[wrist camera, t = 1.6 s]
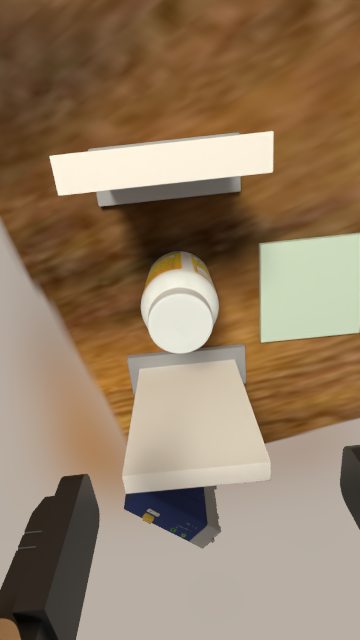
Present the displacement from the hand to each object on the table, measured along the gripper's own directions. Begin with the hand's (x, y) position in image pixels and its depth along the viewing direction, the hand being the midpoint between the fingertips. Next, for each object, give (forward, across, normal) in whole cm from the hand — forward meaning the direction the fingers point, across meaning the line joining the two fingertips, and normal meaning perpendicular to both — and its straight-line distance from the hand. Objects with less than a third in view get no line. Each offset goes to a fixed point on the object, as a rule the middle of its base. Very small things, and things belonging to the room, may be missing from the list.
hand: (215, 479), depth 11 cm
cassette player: (+21, +3, +14) cm, 25 cm away
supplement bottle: (+21, +1, -1) cm, 21 cm away
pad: (+20, -11, +2) cm, 23 cm away
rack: (+20, +1, -1) cm, 20 cm away
